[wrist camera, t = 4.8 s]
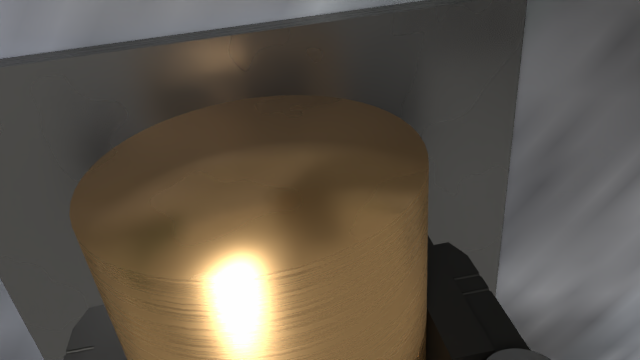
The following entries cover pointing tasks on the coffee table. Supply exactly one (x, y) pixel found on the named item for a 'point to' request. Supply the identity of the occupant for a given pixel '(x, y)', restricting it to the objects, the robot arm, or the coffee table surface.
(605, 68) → the coffee table surface
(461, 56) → the dark grey holder
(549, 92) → the coffee table surface
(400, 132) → the tube
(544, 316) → the coffee table surface
